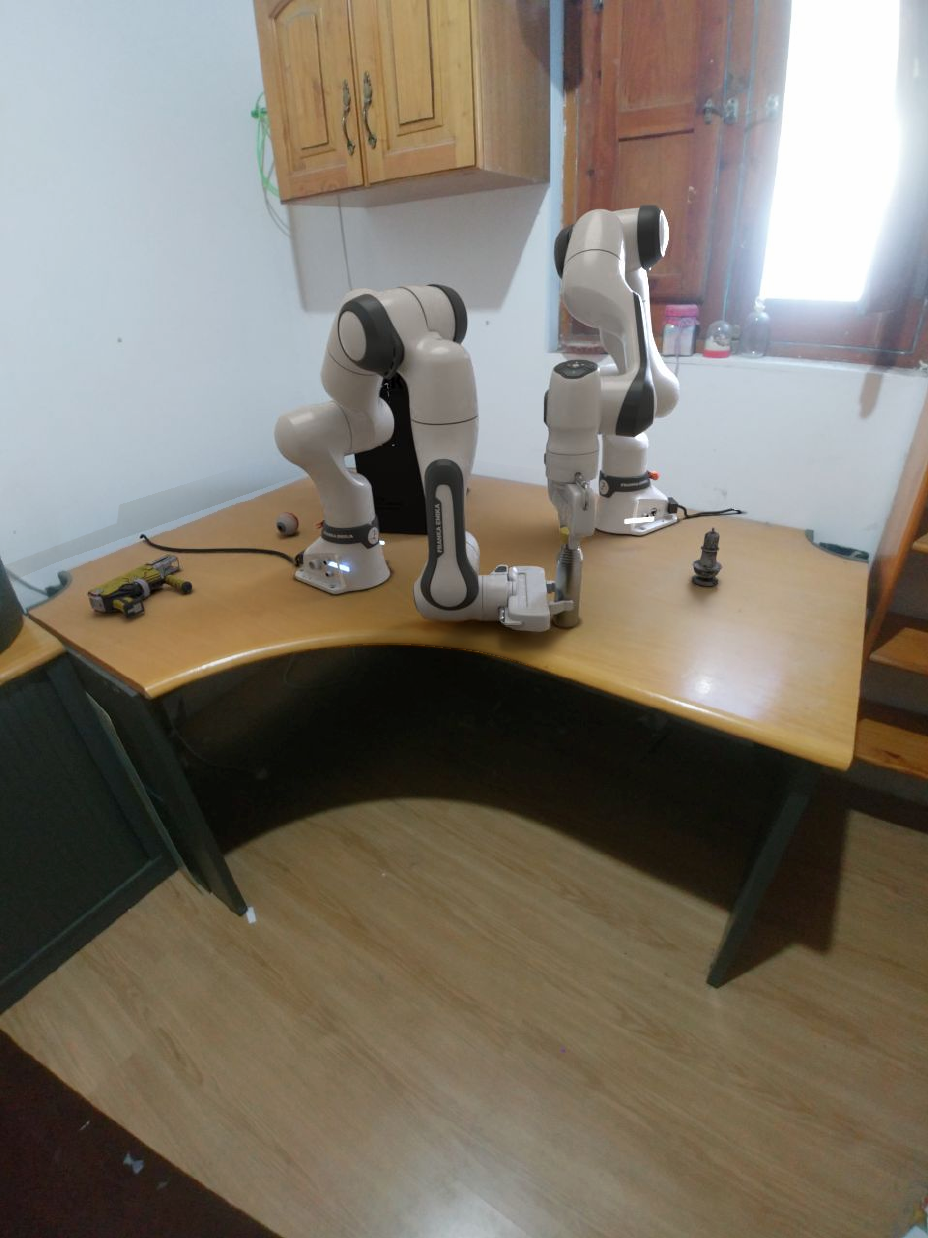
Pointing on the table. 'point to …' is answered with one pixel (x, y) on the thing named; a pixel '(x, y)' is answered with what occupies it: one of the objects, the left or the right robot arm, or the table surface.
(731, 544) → the table surface
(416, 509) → the black box
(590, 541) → the table surface
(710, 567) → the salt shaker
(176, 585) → the toy gun
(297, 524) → the eyeball
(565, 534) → the cap
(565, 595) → the bottle
